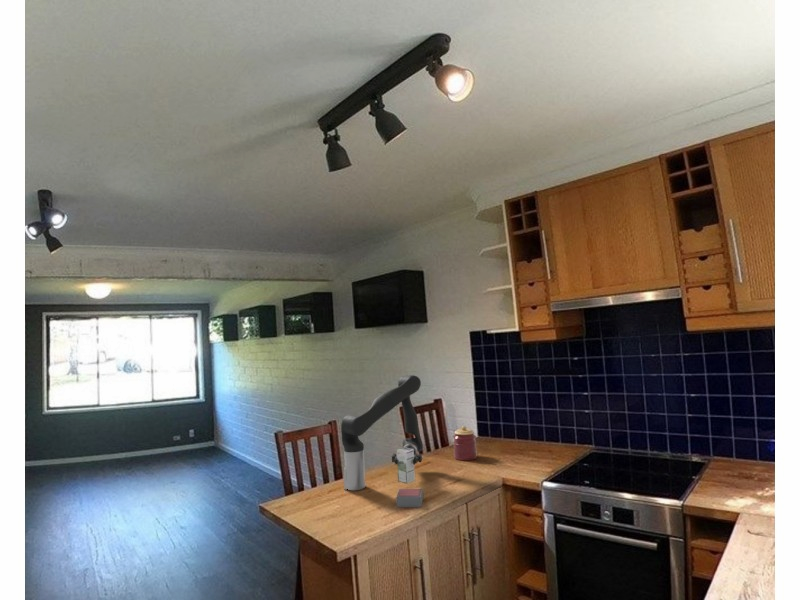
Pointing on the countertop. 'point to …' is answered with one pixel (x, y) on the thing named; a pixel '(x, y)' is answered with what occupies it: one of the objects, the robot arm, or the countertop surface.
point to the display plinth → (409, 498)
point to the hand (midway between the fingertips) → (405, 462)
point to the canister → (464, 444)
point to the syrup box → (405, 465)
